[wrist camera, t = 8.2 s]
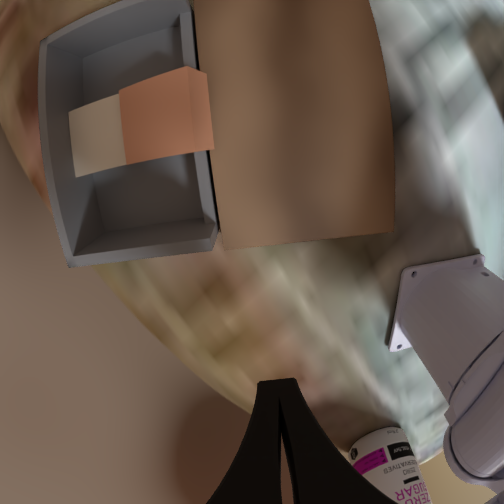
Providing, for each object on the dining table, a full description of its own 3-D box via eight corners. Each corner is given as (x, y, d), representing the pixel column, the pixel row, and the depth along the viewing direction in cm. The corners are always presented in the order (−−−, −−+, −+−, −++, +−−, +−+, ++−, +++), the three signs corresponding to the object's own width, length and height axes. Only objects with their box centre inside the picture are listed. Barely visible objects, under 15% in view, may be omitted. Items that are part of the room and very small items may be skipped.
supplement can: (346, 459, 30) (366, 541, 16) (347, 437, 27) (373, 537, 13) (397, 441, 29) (425, 518, 15) (406, 416, 26) (444, 507, 12)
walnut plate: (355, 7, 11) (366, -5, 9) (379, 222, 17) (393, 231, 15) (198, 9, 11) (193, -5, 10) (226, 238, 17) (224, 250, 15)
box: (195, 17, 12) (180, -17, 7) (220, 223, 17) (212, 250, 12) (78, 55, 12) (40, 40, 8) (102, 240, 17) (68, 267, 13)
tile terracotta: (206, 73, 11) (186, 66, 10) (214, 149, 13) (195, 151, 11) (142, 92, 12) (118, 90, 11) (149, 159, 14) (126, 165, 12)
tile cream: (141, 96, 13) (127, 90, 11) (147, 160, 15) (135, 162, 13) (85, 113, 13) (68, 112, 11) (92, 173, 15) (75, 177, 13)
